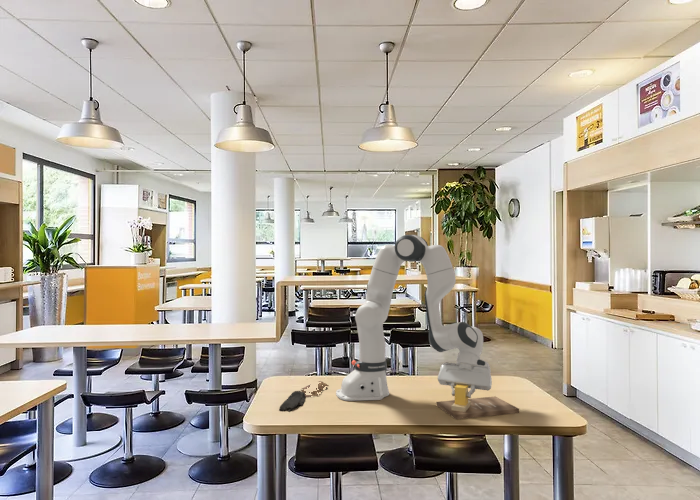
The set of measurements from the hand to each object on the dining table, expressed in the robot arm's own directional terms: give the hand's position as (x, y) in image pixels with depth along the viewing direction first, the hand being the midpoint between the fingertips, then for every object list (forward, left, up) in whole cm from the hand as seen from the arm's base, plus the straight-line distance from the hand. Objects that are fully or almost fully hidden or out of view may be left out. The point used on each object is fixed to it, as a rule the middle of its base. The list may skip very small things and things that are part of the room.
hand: (460, 396), depth 185 cm
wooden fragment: (-47, +46, -7) cm, 65 cm away
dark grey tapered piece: (-58, +28, -6) cm, 65 cm away
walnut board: (+7, +1, -6) cm, 10 cm away
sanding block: (0, 0, -4) cm, 4 cm away
